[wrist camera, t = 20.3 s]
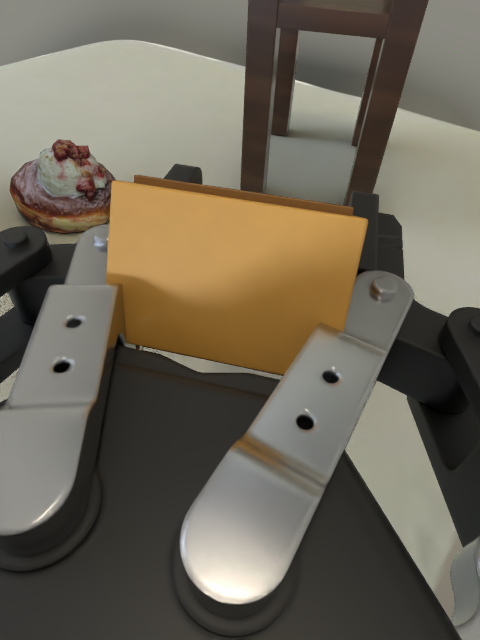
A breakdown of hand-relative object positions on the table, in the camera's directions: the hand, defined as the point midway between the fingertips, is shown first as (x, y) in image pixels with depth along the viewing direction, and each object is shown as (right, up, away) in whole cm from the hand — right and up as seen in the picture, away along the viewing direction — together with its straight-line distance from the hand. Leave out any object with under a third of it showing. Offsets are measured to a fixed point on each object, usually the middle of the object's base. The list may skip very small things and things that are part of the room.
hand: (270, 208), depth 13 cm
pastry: (-14, +5, +19) cm, 24 cm away
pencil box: (+1, -1, +6) cm, 6 cm away
